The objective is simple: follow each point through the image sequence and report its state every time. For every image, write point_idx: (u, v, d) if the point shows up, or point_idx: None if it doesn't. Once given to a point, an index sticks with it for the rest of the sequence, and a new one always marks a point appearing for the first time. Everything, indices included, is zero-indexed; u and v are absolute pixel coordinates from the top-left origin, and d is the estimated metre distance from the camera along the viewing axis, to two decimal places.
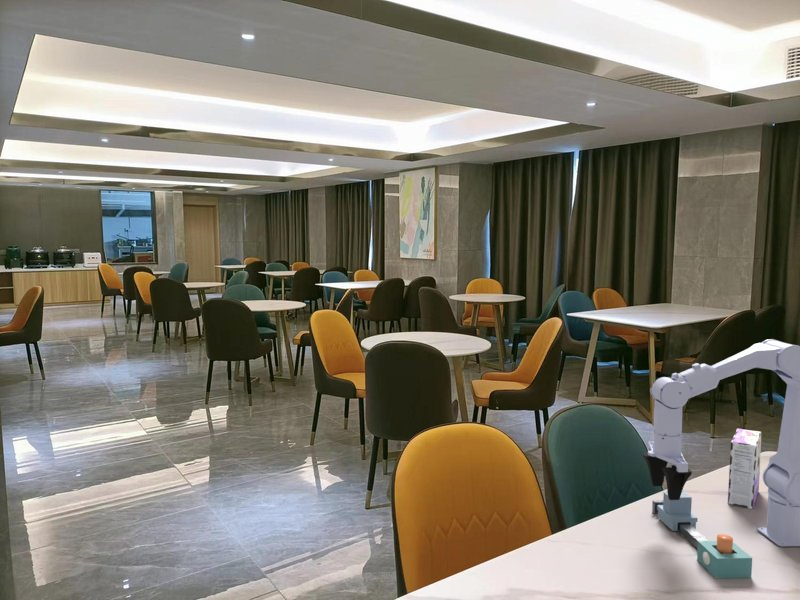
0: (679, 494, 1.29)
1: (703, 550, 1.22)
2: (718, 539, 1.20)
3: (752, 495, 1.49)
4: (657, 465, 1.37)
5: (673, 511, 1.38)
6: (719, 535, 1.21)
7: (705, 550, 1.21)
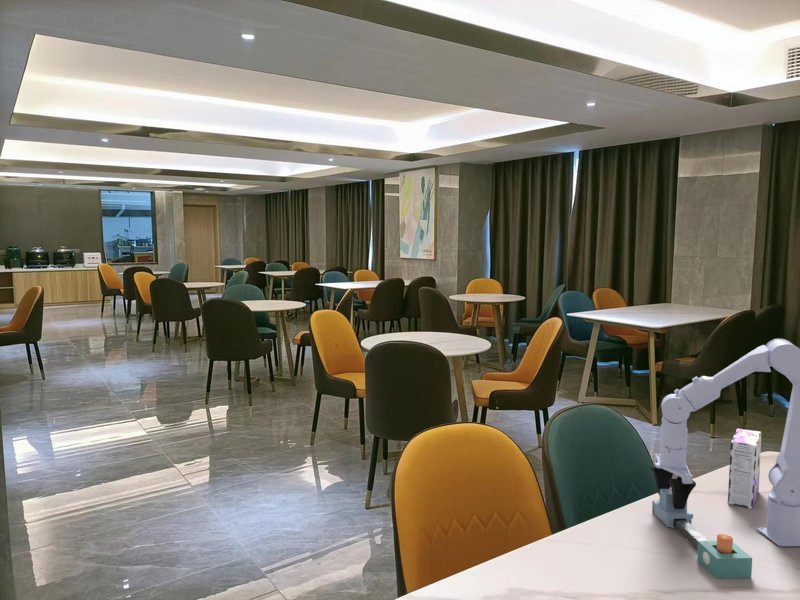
0: (684, 504, 1.38)
1: (703, 550, 1.22)
2: (718, 539, 1.20)
3: (752, 495, 1.49)
4: (663, 476, 1.46)
5: (669, 508, 1.40)
6: (719, 535, 1.21)
7: (705, 550, 1.21)
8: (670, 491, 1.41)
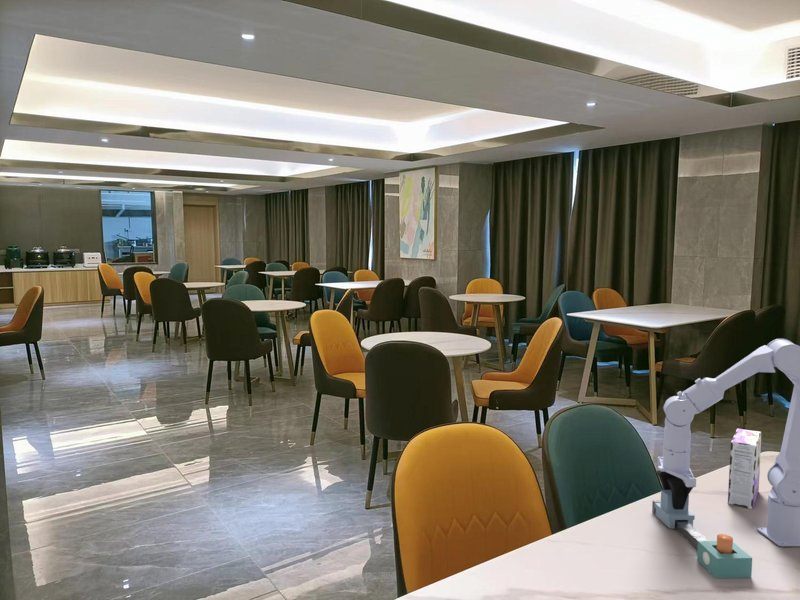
0: (683, 504, 1.38)
1: (703, 550, 1.22)
2: (718, 539, 1.20)
3: (752, 495, 1.49)
4: None
5: (670, 509, 1.39)
6: (719, 535, 1.21)
7: (705, 550, 1.21)
8: None
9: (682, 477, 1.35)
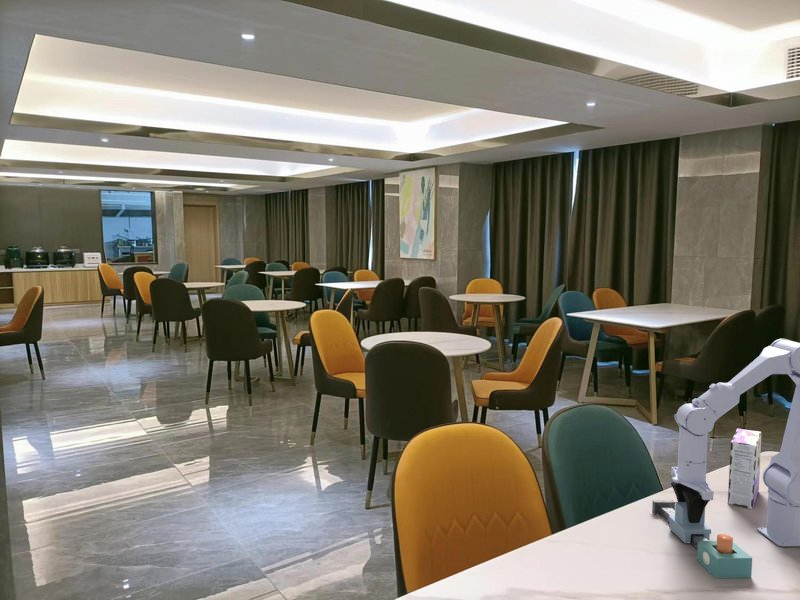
0: (699, 517, 1.32)
1: (703, 550, 1.22)
2: (718, 539, 1.20)
3: (752, 495, 1.49)
4: None
5: (685, 522, 1.32)
6: (719, 535, 1.21)
7: (705, 550, 1.21)
8: (686, 505, 1.34)
9: (698, 489, 1.28)
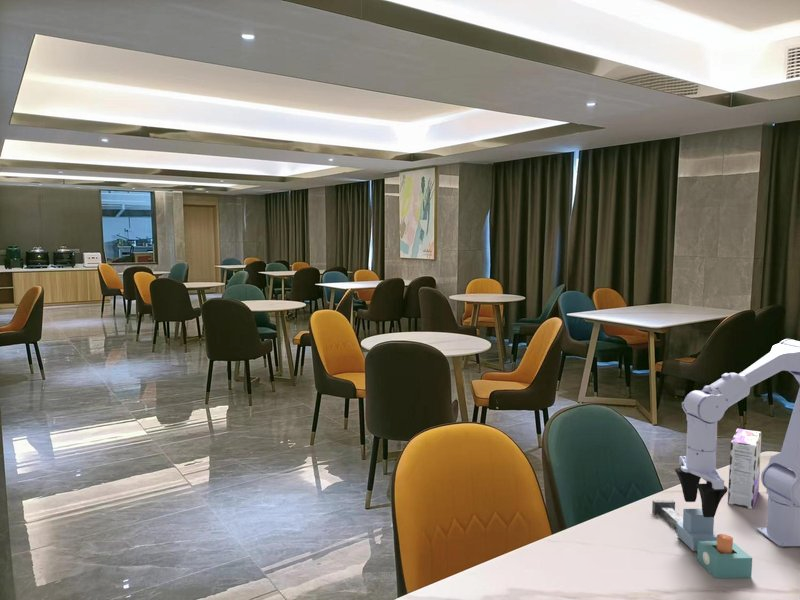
0: (714, 511, 1.26)
1: (703, 550, 1.22)
2: (718, 539, 1.20)
3: (752, 495, 1.49)
4: (690, 480, 1.33)
5: (694, 530, 1.29)
6: (719, 535, 1.21)
7: (705, 550, 1.21)
8: (695, 511, 1.30)
9: (708, 478, 1.24)
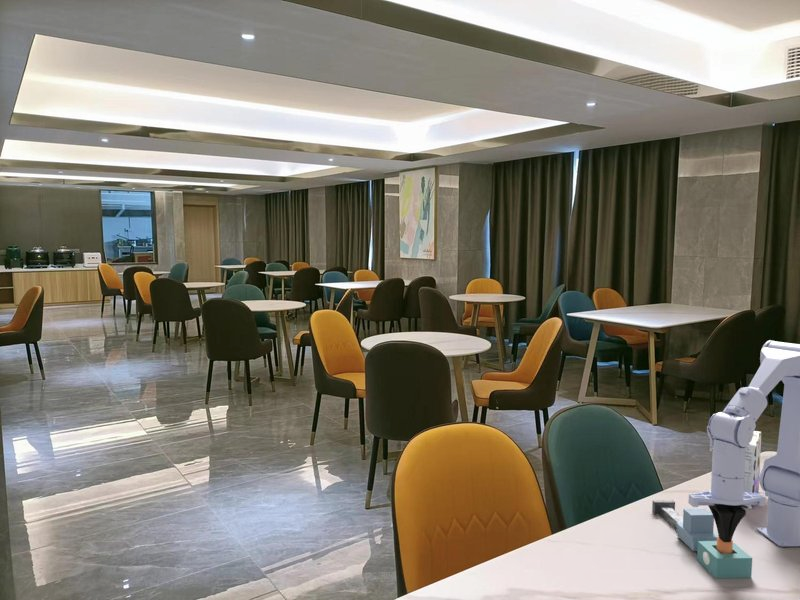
0: (723, 535, 1.19)
1: (703, 550, 1.22)
2: (718, 541, 1.20)
3: None
4: None
5: (694, 530, 1.29)
6: None
7: (705, 550, 1.21)
8: (695, 511, 1.30)
9: None
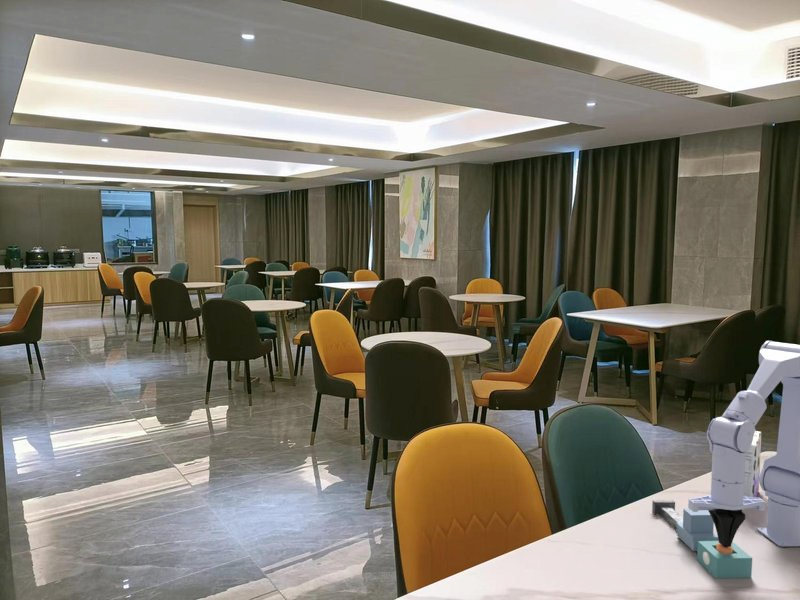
0: (723, 540, 1.20)
1: (703, 550, 1.22)
2: (718, 548, 1.20)
3: (752, 495, 1.49)
4: None
5: (694, 530, 1.29)
6: (719, 544, 1.21)
7: (705, 550, 1.21)
8: None
9: None
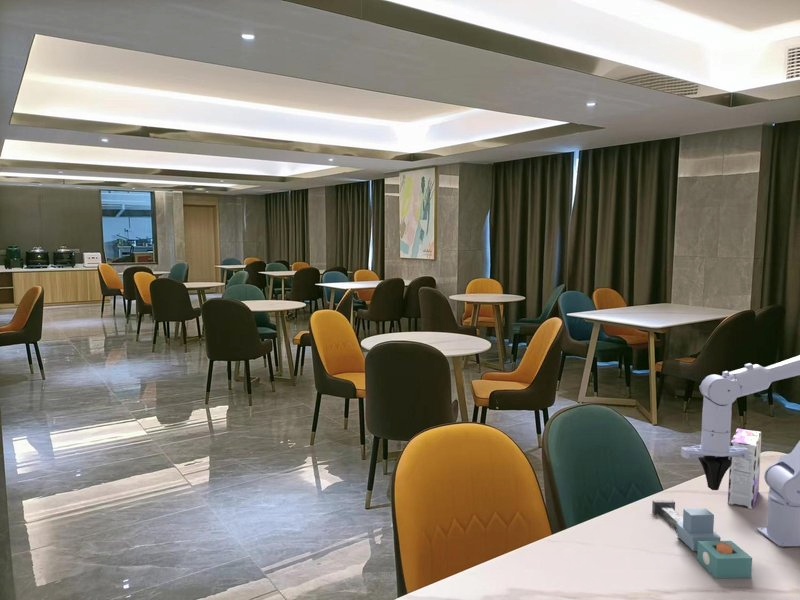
0: (711, 484, 1.34)
1: (703, 550, 1.22)
2: (718, 548, 1.20)
3: (752, 495, 1.49)
4: None
5: (694, 530, 1.29)
6: (719, 544, 1.21)
7: (705, 550, 1.21)
8: (695, 511, 1.30)
9: None
